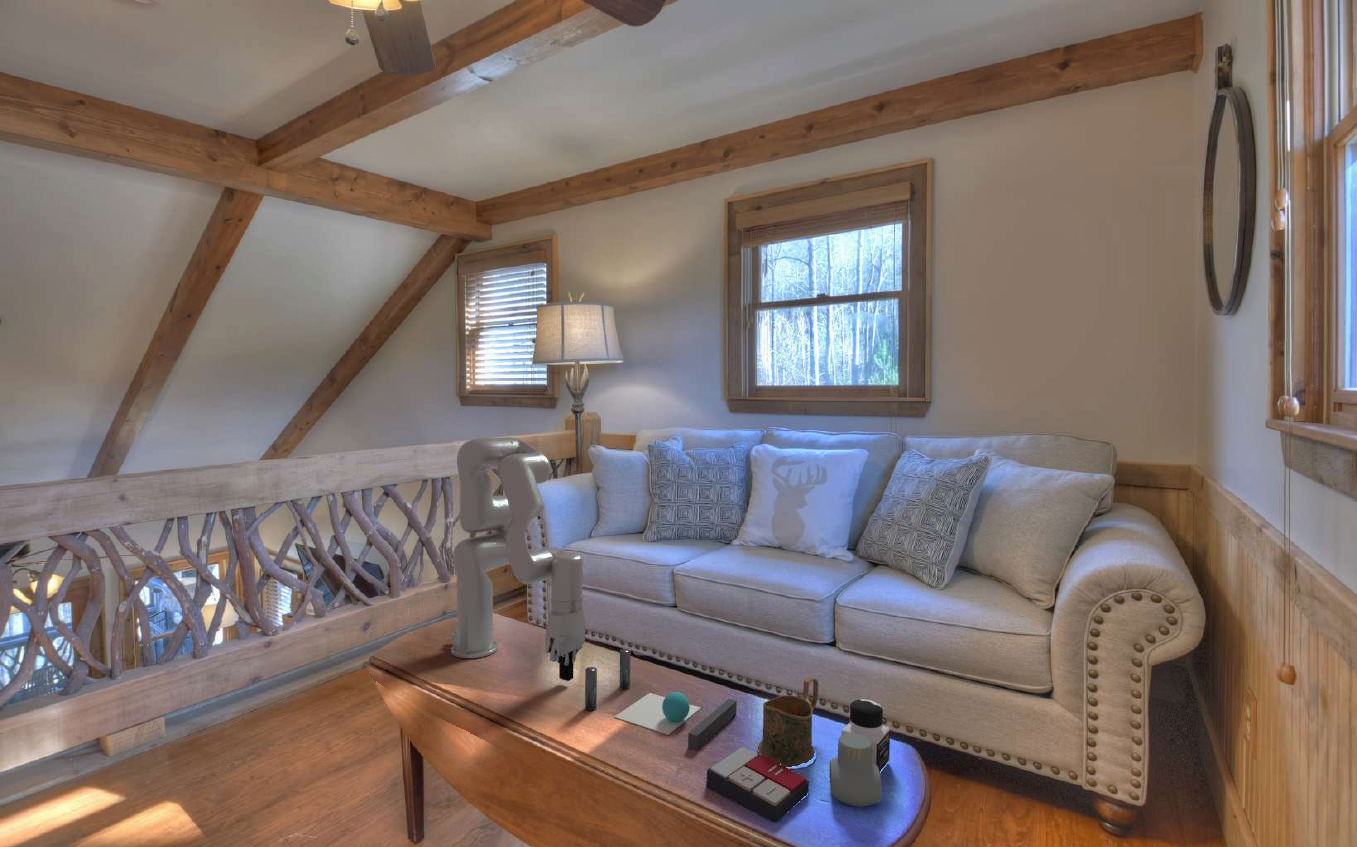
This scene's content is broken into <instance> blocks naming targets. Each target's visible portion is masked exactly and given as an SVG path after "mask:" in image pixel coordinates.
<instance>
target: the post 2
mask: <svg viewBox="0 0 1357 847" xmlns="http://www.w3.org/2000/svg"><path fill="white" fill-rule="evenodd" d="M631 651H632V650H631V649H628V648H622V649H619V689H620V690H624V691H626V690H630V689H631V655H632V654H631Z"/></svg>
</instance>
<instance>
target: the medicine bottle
mask: <svg viewBox="0 0 1357 847" xmlns="http://www.w3.org/2000/svg"><path fill="white" fill-rule="evenodd" d="M883 716H884V711H883V707H882V706H881V704H879V703H878V702H875V701H874V700H871V699H865V698H863V699H862V698H861V699H855V700H854V701H852V702H850V705H849V722H848V724H847V725H846V726H845V727H844V728H843V729H842V730H841V734H840V736H842V735H843V734H847V733H855V734H860V735H863V736H865V737H867V738H868V739H869V740H870V741H871V742H872V745H873V749H872V762H873V763H875V764H876V765H877V766H878V768H879V772H880V771H881V769H882V768H883V767H884V766H885V765H886V763H887V762H888V761H889V762H890V749H891V747H890V746H891V728H890V727H888V726H885V725H883V718H884V717H883Z"/></svg>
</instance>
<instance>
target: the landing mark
mask: <svg viewBox="0 0 1357 847" xmlns="http://www.w3.org/2000/svg"><path fill="white" fill-rule="evenodd" d="M665 697H666V696H661V695H659V694H655V693H651V692H649V693H648V694H646V695H644V696H642V697H641V698H640V699H639V700H636V701H635V702H634V703H632V704H631V705H630V706H628V707H627V708H625V709H623V710H622V711H620V712H619V713H618V714H616V715H614V717H613V718H615V719H618V720H621V721H624V722H627V723H629V724H633V725H635V726H639V727H641V728H646V729H648V730H651V731H655V732H657V733H660V734H663V735H667V736H669V735H670V734H671V733H673V731H675V730H676V729H678V728H679V727H681V725H682V724H684V723H685V722H687V720H689V719H690V718H691V717H692V716H694V715H695V714H696V713H697V712H698V711H700V710H701V709H702V707H701V706H696V705H692V704H690V703H689V705H690V709H689V713H688V715H687V716H686V718H685V719H683V720H682V721H679V722H673V721H670V720H668V719H667V718H666V717H665V715H664V713H663V710H662V704H663V701H664V699H665Z"/></svg>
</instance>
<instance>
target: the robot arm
mask: <svg viewBox="0 0 1357 847" xmlns="http://www.w3.org/2000/svg"><path fill="white" fill-rule="evenodd" d="M456 468H457V472H458V478H459V483H460V484H459V487H460V488H459V522H460V527H461V529H462V530H463V531H464V532H466V533H469V534H477V533H483V532H489V531H491V534H490V533H489V534H485V535H479V536H474V537H469V538H465V539H463V540H461V541H460V542H458V543H457V544H456V545H455V547H454V549H453V556H452V557H453V564H454V568H455V573H456V574H455V575H456V629H454V631H453V632H452V633H450V635H449V637H450V639H453V640H454V644H453V645H452V646H451V647H450V653H451V655H452V656H454V657H456V658H460V659H479V658H483V657H486V656H490V655H493V654H494V653H496V652H497V651H498V650H499V642H498V641H496V640H495V639H493V638H494V637H493V634H494V633H493V631H494V629H493V628H494V627H493V626H494V624H493V623H494V586H493V582H492V581H491V579H490V577H489V575H488V574H487V571H488V570H490V569H495V568H500V567H504V566H506V565H508V564H509V565H510V568H511V570H512V573H513V574H514V577H515V579H517V581H518V582H520V583H521V584H524V585H531V584H532V585H533V584H535V583H539V582H543V581H545V580H551V590H550V591H551V593H550V595H551V598H550V600H551V604H550V605H551V607H550V608H551V609H550V610H551V611H550V612H549V613H548V617H547V623H546V628H545V646H544V647H545V653H547V654H550V655H549V661H550V662H555V663H557V664H558V666H559V667H558V669H559V670H558V671H559V672H558V675H559V676H558V678H559V679H560V680H563V681H567V682H570V681H571V680H573V679H574V668H575V667H574V663H575V662H576V658H577V654H578V653H579V651H580V650H581V649H582V648H583V645H584V644H585V641H586V621H585V620H586V619H585V612H584V608H583V597H584V596H583V575H584V574H583V572H584V571H583V564H584V561H583V560H584V559H583V557H582V556H581V555H580V554H578V553H574V552H567V551H565V550H564V549H563V548H559V547H548V548H544V549H538V550H535V551H530V550H529V547H528V544H527V539H526V538H527V537H526V534H527V529H528V526H529V524H530V523H531V521H532V520H533V519H534V518H537V516H539V515H541V514H542V513H543V511H544V509H545V503H544V501H543V498H542V495H541V492H540V488H539V485H538V484H543V483H546V482H547V481H548V480H549V479H550V476H551V469H552V468H551V465H550V461H549V460H548V458H547V457H546V456H545V454H543V452H541V451H539V450H538V449H536V448H535V447H533V446H532V445H530V444H528V443H527V442H525V441H524V440H522V439H520V438H517V437H511V436H510V437H482V438H474V439H470V440H468V441H466V442H465V443H464V442H463V444H462V445H461V446H460V448H459V450H458V452H457V456H456ZM494 469H495V470H497V471H498V472H497V474H498V477H499V479H500V482H501V485H502V489H503V492H504V495H501V494H500V495H493V481H492V479H491V477H490V475H489V473H488V471H487V470H494Z"/></svg>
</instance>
